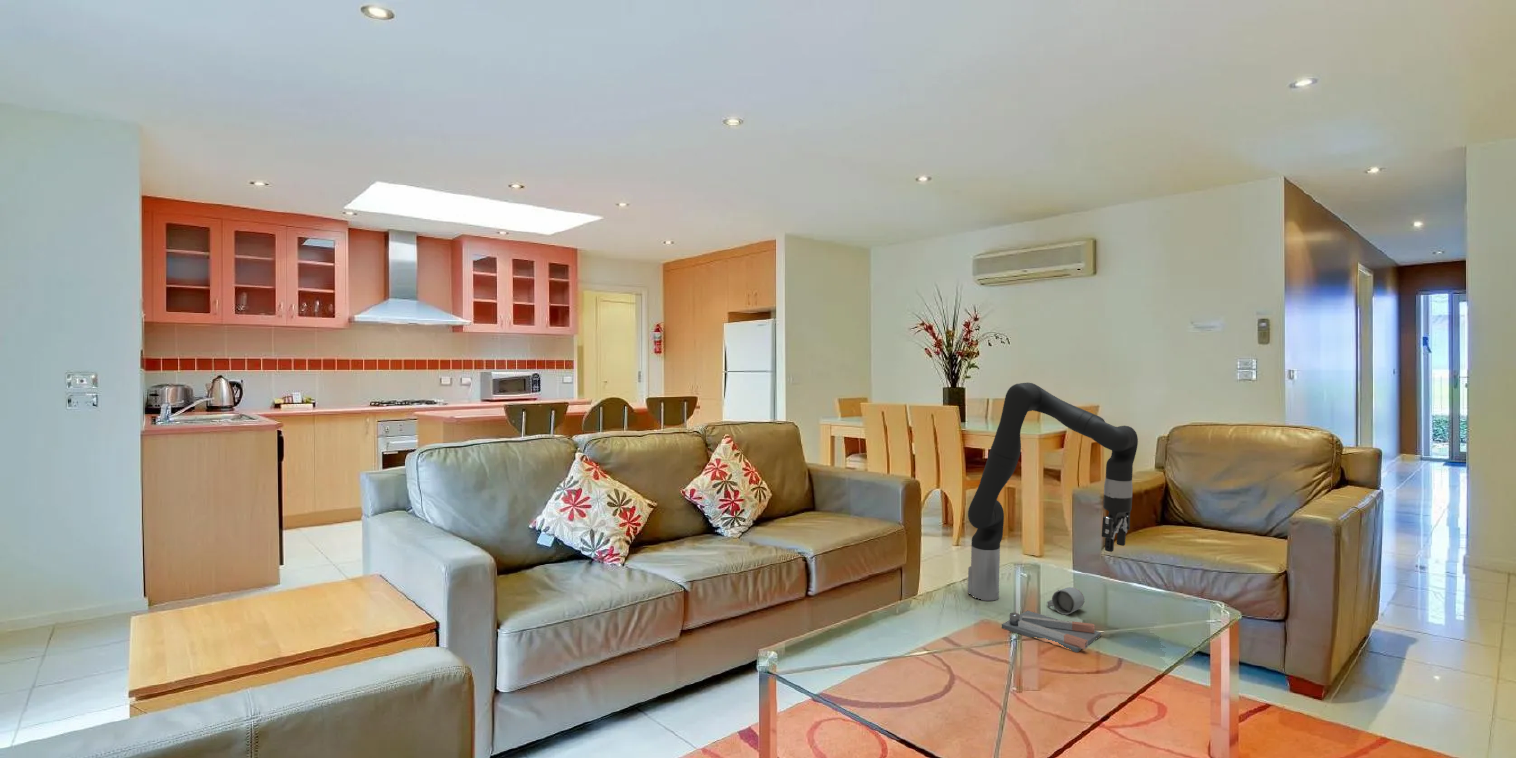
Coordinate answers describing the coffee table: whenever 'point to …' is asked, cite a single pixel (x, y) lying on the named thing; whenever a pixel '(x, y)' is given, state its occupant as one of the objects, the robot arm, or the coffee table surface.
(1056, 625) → the tongs free arm
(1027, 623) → the tongs fixed arm
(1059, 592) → the ceramic mug
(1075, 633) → the board
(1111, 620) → the coffee table surface
